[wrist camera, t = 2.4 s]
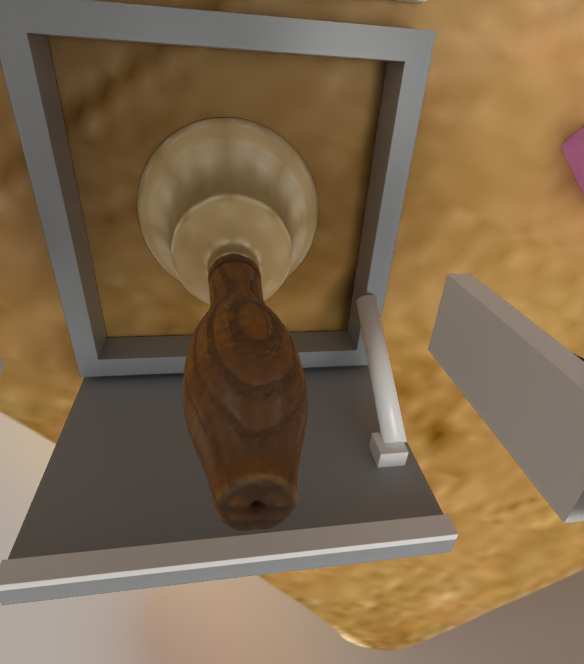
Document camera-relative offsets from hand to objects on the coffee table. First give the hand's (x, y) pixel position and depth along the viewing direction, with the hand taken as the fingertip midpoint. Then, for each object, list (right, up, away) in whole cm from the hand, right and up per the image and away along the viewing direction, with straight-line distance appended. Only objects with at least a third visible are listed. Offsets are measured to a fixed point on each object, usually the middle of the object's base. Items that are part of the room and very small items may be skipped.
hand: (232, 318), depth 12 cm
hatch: (-1, +5, +7) cm, 9 cm away
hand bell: (-1, +5, +8) cm, 9 cm away
